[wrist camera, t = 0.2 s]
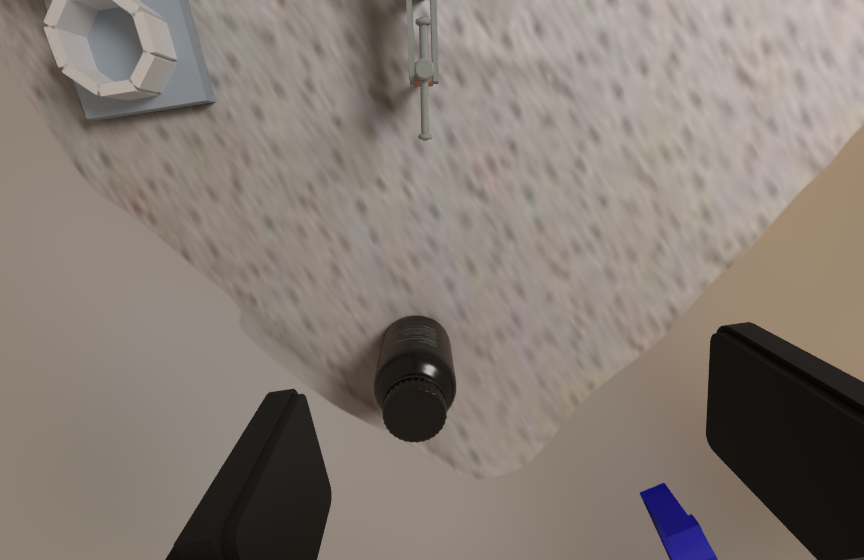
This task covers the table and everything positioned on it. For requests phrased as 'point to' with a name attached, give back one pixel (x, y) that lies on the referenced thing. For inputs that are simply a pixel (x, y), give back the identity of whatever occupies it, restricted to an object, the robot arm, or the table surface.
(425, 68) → the clamp
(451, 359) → the supplement bottle
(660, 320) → the table surface
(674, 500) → the blue block
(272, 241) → the table surface
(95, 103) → the fitting plate
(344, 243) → the table surface
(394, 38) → the table surface
